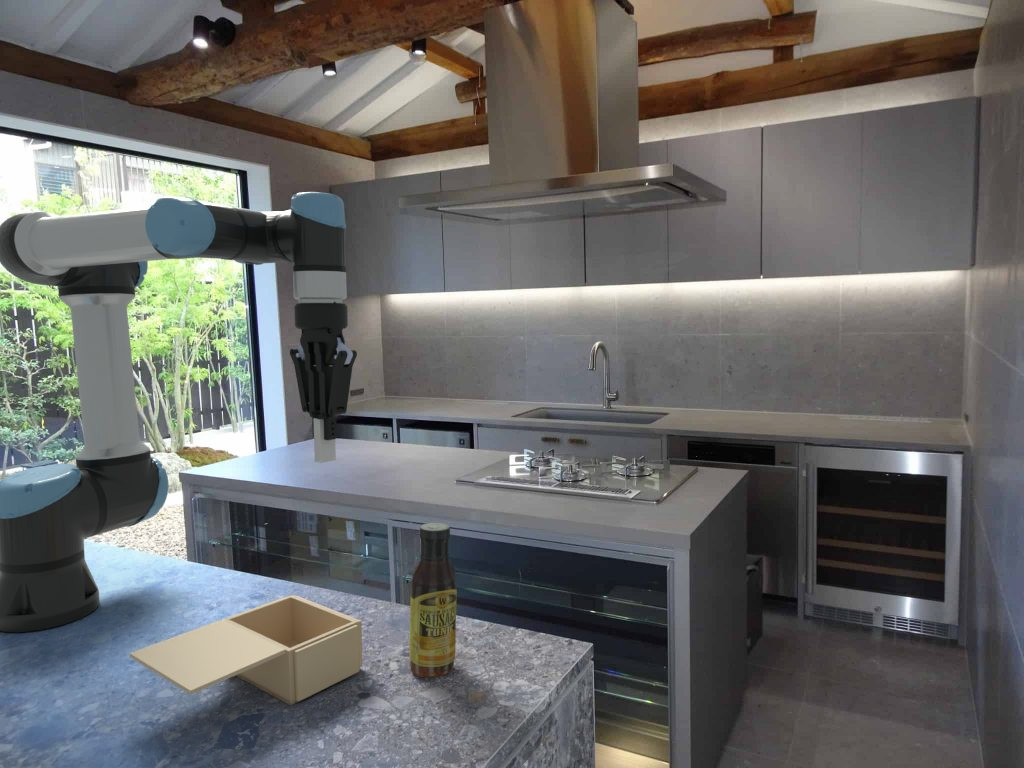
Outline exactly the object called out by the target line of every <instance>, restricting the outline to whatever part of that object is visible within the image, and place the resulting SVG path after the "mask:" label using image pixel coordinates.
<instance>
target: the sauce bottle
mask: <svg viewBox="0 0 1024 768" xmlns="http://www.w3.org/2000/svg"><path fill="white" fill-rule="evenodd" d="M419 537H420V539H421V540H420V554H419V559H420V561H419V562H418V564H417V565H416V566H415V567H414V571H413V574H412V577H411V592H410V614H409V617H410V618H409V654H408V655H409V656H408V658H409V660H410V661H409V664H410V665H409V666H410V671H411V673H413V674H414V675H415V676H416V677H417V676H418V677H422V678H427V679H433V678H434V679H435V678H440V677H444V676H445V675H448V674H449V673H451V672H452V670H453V668H454V664H455V659H456V646H457V645H456V643H457V639H456V637H457V636H456V635H457V629H456V628H457V623H456V622H457V595H458V594H457V593H458V591H457V590H458V589H457V581H456V571H455V568H454V566H453V564H452V562H451V560H450V553H449V539H450V537H451V527H450V525H449V524H446V523H443V522H429V523H424V524H422V525H421V526H420V527H419Z"/></svg>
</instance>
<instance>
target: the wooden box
mask: <svg viewBox="0 0 1024 768" xmlns="http://www.w3.org/2000/svg"><path fill="white" fill-rule="evenodd" d="M223 620H224V621H226V622H228V623H230V624H232V625H234V626H236V627H239V628H241V629H243V630H245V631H247V632H249V633H251V634H253V635H255V636H258V637H260V638H262V639H264V640H266V641H268V642H270V643H272V644H275V645H277V646H279V647H281V648H283V649H285V654H283V655H280V656H278V657H276V658H274V659H271V660H269V661H267V662H265V663H262V664H260V665H258V666H255V667H253V668H251V669H249V670H246V671H244V672H242V673H240V674H237V675H235V676H236V677H238V678H239V679H240V680H243V681H244V682H245V683H246V682H247V683H249V684H250V685H252V686H254V687H256V688H258V689H259V690H261V691H262V692H265V693H267V694H269V695H270V696H272V697H274V698H276V699H278V700H279V701H282V702H283V703H285V704H287V705H288V706H290V707H291V706H293V705H295V704H297V703H299V702H301V701H303V700H305V699H307V698H309V697H311V696H312V695H315V694H317V693H319V692H321V691H323V690H325V689H327V688H330V686H333V685H335V684H337V683H339V682H342V681H343V680H345V679H347V678H350V677H351V676H353V675H355V674H357V673H359V672H360V671H361V667H363V635H362V634H363V632H362V620H360V619H358V618H355V617H352V616H350V615H347V614H346V613H343V612H340V611H338V610H334V609H332V608H329V607H328V606H324V605H322V604H320V603H317V602H314V601H311V600H309V599H306V598H304V597H301V596H298V595H293V594H291V595H288V596H284V597H281V598H279V599H276V600H273V601H270V602H267V603H264V604H262V605H259V606H256V607H253V608H250V609H248V610H245V611H242V612H239V613H237V614H233V615H231V616H228V617H225V618H223Z"/></svg>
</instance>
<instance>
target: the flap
mask: <svg viewBox="0 0 1024 768" xmlns="http://www.w3.org/2000/svg"><path fill="white" fill-rule="evenodd" d="M283 654H285V649H283V648H281V647H279V646H277V645H275V644H272V643H270V642H268V641H266V640H264V639H262V638H260V637H258V636H255V635H253V634H251V633H249V632H247V631H245V630H243V629H241V628H239V627H236V626H234V625H232V624H230V623H228V622H226V621H224V619H219V620H216V621H214V622H211V623H208V624H206V625H202V626H200V627H197V628H195V629H192V630H190V631H187V632H184V633H181V634H179V635H176V636H173V637H170V638H167V639H164V640H162V641H159V642H156V643H154V644H153V643H152V644H151V645H148V646H146V647H143V648H140V649H137V650H135V651H132V652H129V658H130V659H132V660H133V661H135V662H137V663H138V664H140V665H142V666H144V667H145V668H147V669H148V670H150V671H152V672H153V673H154V674H157V675H158V676H159V677H161V678H163V679H164V680H166V681H167V682H169V683H171V684H172V685H174V686H175V687H177V688H178V689H180V690H182V691H183V692H186V693H187V694H189V695H190V696H192V695H193V694H196V693H199V692H201V691H203V690H205V689H208V688H209V687H212V686H214V685H217V684H219V683H221V682H224V681H225V680H229V679H230V678H233V677H235V676H236V675H237V674H240V673H242V672H244V671H246V670H249V669H251V668H253V667H255V666H258V665H260V664H262V663H265V662H267V661H269V660H271V659H274V658H276V657H278V656H280V655H283Z"/></svg>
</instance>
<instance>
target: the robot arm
mask: <svg viewBox="0 0 1024 768" xmlns="http://www.w3.org/2000/svg"><path fill="white" fill-rule="evenodd" d="M290 200H291V201H290V206H289V209H288V210H284V211H279V210H278V211H259V210H255V209H249V208H243V207H236V206H231V205H224V204H219V203H214V202H209V201H204V200H198V199H195V198H192V197H190V196H189V197H188V196H167V195H166V196H162V197H160V198H158V199H156V201H155V202H154V203H153V204H151V205H145V206H137V207H130V208H129V207H127V208H121V209H112V210H102V211H95V212H87V213H78V214H77V213H76V214H70V215H69V214H68V215H60V214H58V215H57V214H54V213H52V212H49V211H34V212H24V213H19V214H15V215H13V216H10V217H8V218H6V219H5V220H4V221H3V222H2V223H1V224H0V264H1V266H3V268H4V269H5V270H6V271H7V272H8V273H10V274H11V275H12V276H14V277H16V278H17V279H20V280H21V281H24V282H26V283H31V284H32V285H33V284H34V285H39V286H50V287H57V290H58V299H59V300H60V301H61V302H62V303H64V304H65V305H67V307H68V308H69V309H70V316H71V324H72V335H73V343H74V344H73V345H74V346H73V347H74V353H75V364H76V366H75V367H76V374H77V383H78V384H77V386H78V393H79V405H80V415H81V424H82V433H83V444H84V446H83V447H82V449H81V450H80V451H79V452H78V454H76V455H75V464H72V463H52V464H47V465H45V466H42V465H41V466H40V465H39V466H34V467H31V468H27V469H23V470H21V471H18V472H15V473H12V474H10V475H8V476H6V477H4V478H3V479H2V480H1V481H0V632H2V633H3V632H5V633H25V632H35V631H41V630H47V629H50V628H55V627H59V626H63V625H65V624H69V623H72V622H75V621H77V620H78V621H79V620H80V619H82V618H84V617H87V616H88V615H90V614H92V613H93V612H95V611H96V610H97V609H96V608H97V606H98V605H99V606H100V604H99V603H100V602H101V601H100V590H99V588H98V585H97V583H96V581H95V578H94V576H93V574H92V572H91V570H90V567H89V566H88V563H87V562H86V557H85V540H86V539H88V538H92V537H94V536H98V535H101V534H104V533H105V534H106V533H108V532H112V531H115V530H118V529H123V528H126V527H133V526H136V525H138V524H140V523H142V522H144V521H148V520H149V519H152V518H153V517H155V516H156V515H157V514H158V513H159V512H160V510H161V509H162V508H163V507H164V505H165V503H166V501H167V497H168V493H169V478H168V473H167V470H166V469H165V468H163V464H162V462H161V461H160V460H159V459H158V458H156V457H154V456H152V455H151V448H150V447H149V446H148V445H146V444H145V443H144V442H142V441H141V438H140V431H139V428H140V427H139V420H138V408H137V398H136V389H135V388H136V387H135V378H134V368H133V367H134V366H133V359H132V358H133V357H132V347H131V346H132V345H131V337H130V335H131V334H130V325H129V317H128V316H129V315H128V306H129V304H130V303H131V302H132V301H133V300H134V299H135V298H136V289H135V288H137V287H139V286H140V285H142V284H143V282H144V281H145V275H147V273H148V268H149V266H148V265H149V264H148V262H150V261H164V260H165V261H166V260H183V259H185V260H186V259H197V258H198V259H199V258H201V259H219V260H227V261H234V262H235V263H239V264H247V265H256V266H258V265H263V264H275V263H276V264H277V263H292V266H293V267H292V270H293V273H292V275H293V277H292V279H293V281H292V283H293V299H295V300H298V301H297V302H298V303H296V304H295V305H293V306H294V309H293V310H294V327H295V328H296V329H298V330H300V331H301V335H300V338H299V343H300V344H299V345H298V346H297V347H296V348H290V350H289V355H290V358H291V360H292V362H293V365H294V372H295V378H296V381H297V389H298V395H299V399H300V405H301V406H300V407H301V409H302V412H303V413H307V414H309V416H310V417H311V420H312V422H311V423H312V436H313V441H314V443H313V447H314V449H313V450H314V451H313V452H314V462H315V463H319V464H321V463H327V462H333V461H337V459H336V457H337V456H336V440H337V435H338V434H337V433H338V432H337V431H338V430H337V418H338V417H339V416H341V415H344V414H346V413H347V411H348V402H349V395H350V388H351V380H352V372H353V366H354V364H355V361H356V360H357V356H358V353H357V351H356V350H355V349H349V348H348V347H347V346H346V345H345V343H346V340H345V337H344V334H343V329H346V328H347V327H348V326H349V325H348V324H349V322H348V321H349V319H348V305H347V303H344V302H343V301H344V300H346V299H347V298H348V296H347V295H348V294H347V287H348V286H347V266H346V251H347V249H346V246H347V245H346V243H347V242H346V241H347V236H346V235H347V224H346V218H345V217H346V215H345V214H346V213H345V203H344V201H343V199H342V198H341V197H340V196H338V195H336V194H333V193H329V192H328V193H327V192H318V191H306V192H298V193H295V194H293V195H292V196H291V199H290ZM99 606H98V607H99ZM95 609H96V610H95ZM92 611H93V612H92ZM91 612H92V613H91Z"/></svg>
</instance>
